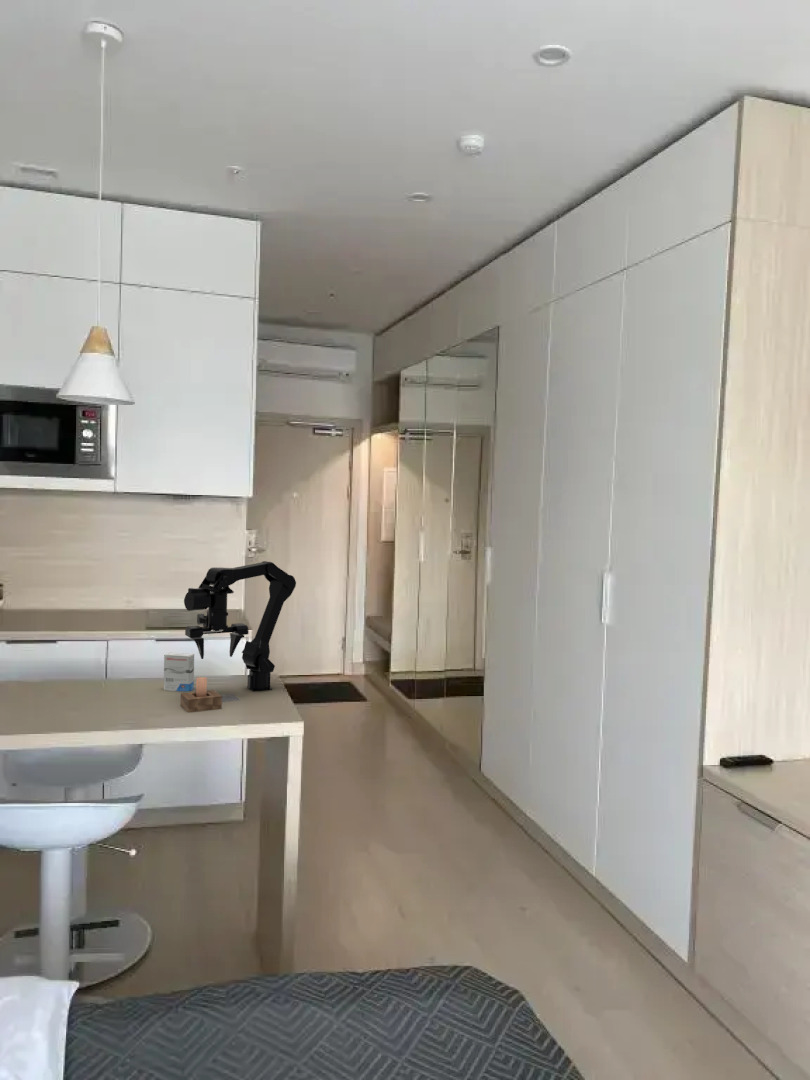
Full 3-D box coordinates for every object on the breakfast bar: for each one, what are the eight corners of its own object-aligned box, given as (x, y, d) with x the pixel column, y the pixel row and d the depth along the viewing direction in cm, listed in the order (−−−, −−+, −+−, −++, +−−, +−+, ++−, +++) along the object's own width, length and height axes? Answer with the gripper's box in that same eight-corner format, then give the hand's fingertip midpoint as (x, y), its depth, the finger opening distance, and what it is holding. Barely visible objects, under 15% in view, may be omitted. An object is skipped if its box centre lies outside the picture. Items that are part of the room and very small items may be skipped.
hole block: (213, 702, 256) (213, 690, 255) (221, 709, 249) (221, 696, 249) (180, 706, 251) (180, 693, 250) (188, 713, 244) (188, 699, 243)
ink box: (194, 688, 272) (195, 653, 271) (189, 692, 267) (189, 656, 266) (169, 687, 273) (169, 651, 272) (163, 691, 268) (163, 654, 267)
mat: (232, 694, 266) (232, 693, 266) (240, 700, 259) (240, 699, 259) (207, 697, 262) (207, 696, 262) (215, 703, 255) (215, 702, 255)
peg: (204, 706, 252) (205, 676, 251) (207, 708, 249) (208, 678, 249) (194, 707, 250) (195, 677, 250) (197, 709, 248) (198, 679, 247)
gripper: (237, 603, 273) (236, 650, 274) (180, 605, 263) (179, 654, 264) (249, 608, 263) (248, 657, 264) (190, 611, 253) (190, 662, 254)
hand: (216, 657), depth 262 cm, fingers open, 9 cm apart
